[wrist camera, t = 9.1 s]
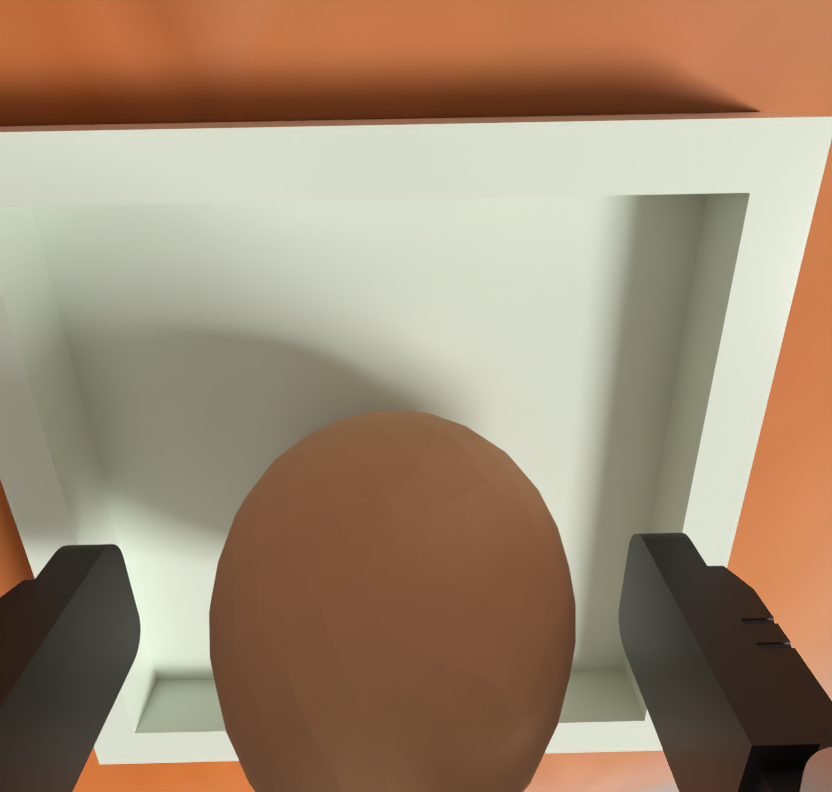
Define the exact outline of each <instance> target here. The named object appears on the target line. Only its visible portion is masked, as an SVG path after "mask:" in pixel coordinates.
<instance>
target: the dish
mask: <svg viewBox="0 0 832 792" xmlns="http://www.w3.org/2000/svg"><path fill="white" fill-rule="evenodd" d="M831 139H832V116H821V115H805V114H789V113H773V112H737V113H684V114H630V115H577V116H524V117H470V118H417V119H364V120H310V121H257V122H204V123H150V124H97V125H44V126H0V480H1V483H2V486H3V489H4V492H5V495H6V497H7V500H8V503H9V506H10V509H11V512H12V515H13V517H14V520H15V523H16V526H17V529H18V532H19V535H20V537H21V540H22V543H23V546H24V549H25V552H26V555H27V558H28V560H29V563H30V566H31V569H32V572H33V575H34V578H36V577H37V576H38V574H39V573H40V572H41V570H42V569H43V568H44V566H45V565H46V564H47V562H48V561H49V560H50V559H51V557H52V556H53V555H54V553H55V552H56V551H57V550H58V549H59V548H60V547H62V546H64V545H95V544H115V545H117V546H118V547H119V548H120V550H121V552H122V554H123V557H124V561H125V565H126V569H127V572H128V576H129V580H130V583H131V587H132V591H133V595H134V598H135V602H136V606H137V610H138V613H139V617H140V625H141V632H140V642H139V648H138V652H137V655H136V658H135V660H134V663H133V665H132V667H131V669H130V671H129V673H128V675H127V677H126V679H125V682H124V684H123V686H122V688H121V690H120V692H119V694H118V696H117V698H116V701H115V703H114V705H113V707H112V709H111V711H110V713H109V715H108V717H107V719H106V722H105V724H104V726H103V728H102V730H101V732H100V734H99V736H98V738H97V741H96V743H95V745H94V749H95V752H96V755H97V758H98V761H99V764H135V763H175V762H216V761H239V759H238V757H237V755H236V753H235V750H234V748H233V746H232V744H231V742H230V739H229V737H228V735H227V733H226V729H225V725H224V721H223V716H222V712H221V708H220V703H219V699H218V695H217V690H216V685H215V680H214V676H213V671H212V666H211V661H210V641H209V610H210V603H211V597H212V592H213V586H214V581H215V576H216V570H217V565H218V561H219V558H220V555H221V553H222V550H223V547H224V545H225V542H226V539H227V536H228V534H229V531H230V528H231V525H232V523H233V520H234V517H235V515H236V513H237V511H238V509H239V508H240V506H241V504H242V503H243V501H244V499H245V497H246V496H247V495H248V493H249V492H250V491H251V489H252V488H253V487H254V486H255V484H256V483H257V482H258V480H259V479H260V478H261V477H262V475H263V474H264V473H265V472H266V470H267V469H268V468H269V466H270V465H271V464H272V463H273V461H274V460H275V459H276V458H278V457H279V456H280V455H282V454H283V453H284V452H286V451H287V450H288V449H290V448H291V447H292V446H294V445H295V444H296V443H298V442H299V441H301V440H302V439H303V438H305V437H306V436H307V435H309V434H310V433H311V432H313V431H315V430H318V429H320V428H322V427H324V426H326V425H328V424H330V423H332V422H334V421H336V420H340V419H344V418H348V417H352V416H357V415H361V414H365V413H369V412H373V411H407V410H412V411H418V412H424V413H430V414H433V415H436V416H439V417H442V418H444V419H447V420H450V421H453V422H456V423H459V424H461V425H464V426H467V427H468V428H470V429H471V430H473V431H474V432H476V433H477V434H479V435H480V436H482V437H483V438H485V439H486V440H488V441H489V442H491V443H492V444H494V445H495V446H497V447H499V448H500V449H502V450H503V451H505V452H506V453H507V454H508V455H509V456H510V457H511V459H512V460H513V461H514V462H515V463H516V464H517V465H518V467H519V468H520V469H521V470H522V471H523V472H524V474H525V475H526V476H527V477H528V478H529V480H530V481H531V482H532V483H533V484H534V485H535V487H536V488H537V489H538V490H539V492H540V494H541V496H542V498H543V500H544V502H545V504H546V506H547V508H548V510H549V511H550V513H551V515H552V517H553V519H554V521H555V523H556V525H557V527H558V530H559V533H560V537H561V540H562V544H563V547H564V551H565V554H566V558H567V561H568V565H569V569H570V575H571V581H572V586H573V592H574V598H575V604H576V644H575V650H574V655H573V661H572V667H571V673H570V678H569V682H568V686H567V690H566V694H565V698H564V702H563V706H562V710H561V714H560V718H559V722H558V726H557V728H556V730H555V732H554V734H553V736H552V738H551V740H550V742H549V744H548V746H547V749H546V751H545V753H578V752H618V751H658V750H663V748H662V746H661V743H660V741H659V738H658V736H657V733H656V730H655V728H654V725H653V723H652V720H651V718H650V715H649V713H648V710H647V707H646V705H645V702H644V700H643V697H642V695H641V692H640V689H639V687H638V684H637V682H636V679H635V677H634V674H633V672H632V669H631V666H630V664H629V661H628V659H627V656H626V654H625V651H624V648H623V644H622V640H621V636H620V629H619V605H620V598H621V592H622V586H623V579H624V573H625V567H626V560H627V554H628V547H629V542H630V539H631V537H632V536H633V535H634V534H644V533H684V534H686V535H687V536H688V537H689V538H690V539H691V541H692V542H693V544H694V546H695V547H696V549H697V550H698V552H699V554H700V555H701V557H702V558H703V560H704V561H705V563H706V565H707V566H724V567H726V568H727V565H728V561H729V557H730V553H731V549H732V545H733V541H734V537H735V533H736V529H737V524H738V520H739V516H740V512H741V508H742V504H743V500H744V496H745V492H746V488H747V483H748V479H749V475H750V471H751V467H752V463H753V459H754V455H755V451H756V447H757V442H758V438H759V434H760V430H761V426H762V422H763V418H764V414H765V410H766V406H767V401H768V397H769V393H770V389H771V385H772V381H773V377H774V373H775V369H776V365H777V360H778V356H779V352H780V348H781V344H782V340H783V336H784V332H785V328H786V324H787V319H788V315H789V311H790V307H791V303H792V299H793V295H794V291H795V287H796V283H797V278H798V274H799V270H800V266H801V262H802V258H803V254H804V250H805V246H806V242H807V237H808V233H809V229H810V225H811V221H812V217H813V213H814V209H815V205H816V201H817V196H818V192H819V188H820V184H821V180H822V176H823V172H824V168H825V164H826V159H827V155H828V151H829V147H830V143H831Z"/></svg>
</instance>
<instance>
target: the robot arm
mask: <svg viewBox="0 0 832 792" xmlns="http://www.w3.org/2000/svg"><path fill="white" fill-rule="evenodd" d="M773 619H774V618H773V616H772V615H771V613H770V612H769V611H768V609H767V608H766V606H765V605H764V603H763V602H762V601H761V599H760V598H759V596H758V595H757V593H756V592H755V590H754V589H753V588H751V587H750V586H749V585H747V584H746V583H745V582H744V581H742V580H741V579H740V578H738V577H737V576H736V575H735V574H733V573H732V572H731V571H729V570H728V569H727V568H726V567H724V566H707V565H706V563H705V561H704V560H703V558H702V557H701V555H700V554H699V552H698V550H697V549H696V547H695V546H694V544H693V542H692V541H691V539H690V538H689V537H688V536H687V535H686V534H684V533H644V534H634V535H633V536H632V537H631V539H630V542H629V547H628V554H627V560H626V567H625V573H624V579H623V586H622V592H621V598H620V605H619V629H620V636H621V640H622V644H623V648H624V651H625V654H626V656H627V659H628V661H629V664H630V666H631V669H632V672H633V674H634V677H635V679H636V682H637V684H638V687H639V689H640V692H641V695H642V697H643V700H644V702H645V705H646V707H647V710H648V713H649V715H650V718H651V720H652V723H653V725H654V728H655V730H656V733H657V736H658V738H659V741H660V743H661V746H662V748H663V751H664V754H665V756H666V759H667V761H668V764H669V766H670V769H671V771H672V774H673V777H674V779H675V782H676V784H677V787H678V789H679V791H680V792H832V701H831V700H830V698H829V697H828V695H827V694H826V692H825V691H824V689H823V688H822V687H821V685H820V684H819V682H818V681H817V679H816V678H815V677H814V675H813V674H812V672H811V671H810V669H809V668H808V667H807V665H806V664H805V662H804V661H803V659H802V658H801V656H800V655H799V654H798V652H797V651H796V649H795V648H791V645H790V641H789V639H788V638H787V636H786V635H785V634H784V632H783V631H782V629H781V628H780V626H779V625H778V624H775V623H774V620H773ZM140 632H141V625H140V617H139V613H138V610H137V606H136V602H135V598H134V595H133V591H132V587H131V583H130V580H129V576H128V572H127V569H126V565H125V561H124V557H123V554H122V552H121V550H120V548H119V547H118V546H117V545H115V544H95V545H64V546H62V547H60V548H59V549H58V550H57V551H56V552H55V553H54V555H53V556H52V557H51V559H50V560H49V561H48V562H47V564H46V565H45V566H44V568H43V569H42V570H41V572H40V573H39V574H38V576H37V577H36V578H35V580H23V581H22V582H21V583H19V584H18V585H17V586H15V587H14V588H13V589H11V590H10V591H9V592H7V593H6V594H5V595H3V596H2V597H1V598H0V792H72V791H73V789H74V787H75V785H76V783H77V781H78V778H79V776H80V774H81V772H82V770H83V768H84V766H85V764H86V762H87V759H88V757H89V755H90V753H91V751H92V749H93V747H94V745H95V743H96V741H97V738H98V736H99V734H100V732H101V730H102V728H103V726H104V724H105V722H106V719H107V717H108V715H109V713H110V711H111V709H112V707H113V705H114V703H115V701H116V698H117V696H118V694H119V692H120V690H121V688H122V686H123V684H124V682H125V679H126V677H127V675H128V673H129V671H130V669H131V667H132V665H133V663H134V660H135V658H136V655H137V652H138V648H139V642H140Z"/></svg>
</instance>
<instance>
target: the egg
mask: <svg viewBox="0 0 832 792" xmlns="http://www.w3.org/2000/svg"><path fill="white" fill-rule="evenodd" d="M209 641H210V661H211V666H212V671H213V676H214V680H215V685H216V690H217V695H218V699H219V703H220V708H221V712H222V716H223V721H224V725H225V729H226V733H227V735H228V737H229V739H230V742H231V744H232V746H233V748H234V750H235V753H236V755H237V757H238V759H239V761H240V764H241V766H242V768H243V770H244V772H245V775H246V777H247V779H248V781H249V783H250V785H251V786H252V787H253V789H254V790H255V791H256V792H524V791H525V789H526V788H527V787H528V785H529V784H530V782H531V780H532V778H533V776H534V774H535V772H536V770H537V767H538V765H539V763H540V761H541V759H542V757H543V755H544V753H545V751H546V749H547V746H548V744H549V742H550V740H551V738H552V736H553V734H554V732H555V730H556V728H557V726H558V722H559V718H560V714H561V710H562V706H563V702H564V698H565V694H566V690H567V686H568V682H569V678H570V673H571V667H572V661H573V655H574V650H575V644H576V604H575V598H574V592H573V586H572V581H571V575H570V569H569V565H568V561H567V558H566V554H565V551H564V547H563V544H562V540H561V537H560V533H559V530H558V527H557V525H556V523H555V521H554V519H553V517H552V515H551V513H550V511H549V510H548V508H547V506H546V504H545V502H544V500H543V498H542V496H541V494H540V492H539V490H538V489H537V488H536V487H535V485H534V484H533V483H532V482H531V481H530V480H529V478H528V477H527V476H526V475H525V474H524V472H523V471H522V470H521V469H520V468H519V467H518V465H517V464H516V463H515V462H514V461H513V460H512V459H511V457H510V456H509V455H508V454H507V453H506V452H505V451H503V450H502V449H500V448H499V447H497V446H495V445H494V444H492V443H491V442H489V441H488V440H486V439H485V438H483V437H482V436H480V435H479V434H477V433H476V432H474V431H473V430H471V429H470V428H468V427H467V426H464V425H461V424H459V423H456V422H453V421H450V420H447V419H444V418H442V417H439V416H436V415H433V414H430V413H424V412H418V411H412V410H407V411H373V412H369V413H365V414H361V415H357V416H352V417H348V418H344V419H340V420H336V421H334V422H332V423H330V424H328V425H326V426H324V427H322V428H320V429H318V430H315V431H313V432H311V433H310V434H309V435H307V436H306V437H305V438H303V439H302V440H301V441H299V442H298V443H296V444H295V445H294V446H292V447H291V448H290V449H288V450H287V451H286V452H284V453H283V454H282V455H280V456H279V457H278V458H276V459H275V460H274V461H273V463H272V464H271V465H270V466H269V468H268V469H267V470H266V472H265V473H264V474H263V475H262V477H261V478H260V479H259V480H258V482H257V483H256V484H255V486H254V487H253V488H252V489H251V491H250V492H249V493H248V495H247V496H246V497H245V499H244V501H243V503H242V504H241V506H240V508H239V509H238V511H237V513H236V515H235V517H234V520H233V523H232V525H231V528H230V531H229V534H228V536H227V539H226V542H225V545H224V547H223V550H222V553H221V555H220V558H219V561H218V565H217V570H216V576H215V581H214V586H213V592H212V597H211V603H210V610H209Z"/></svg>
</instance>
